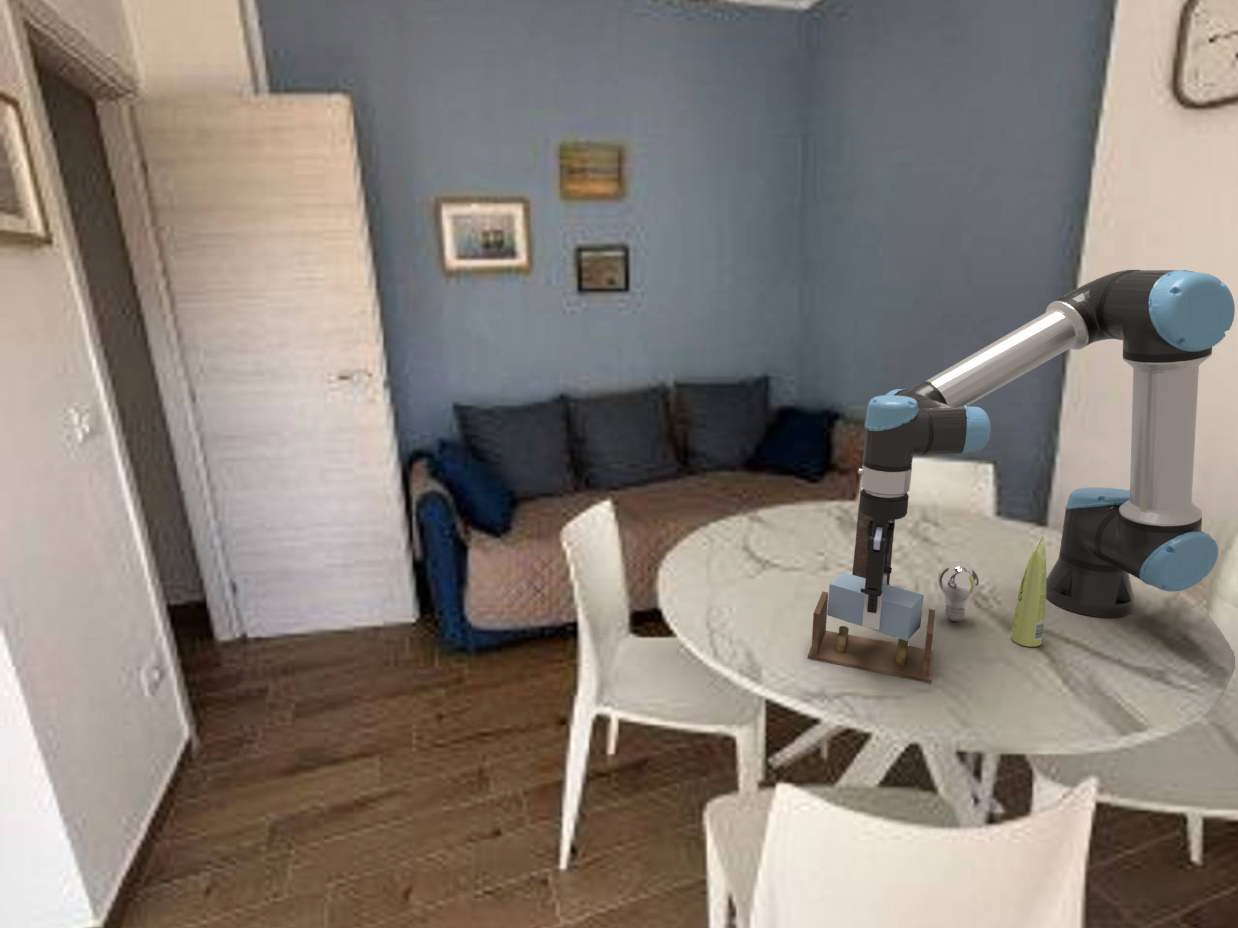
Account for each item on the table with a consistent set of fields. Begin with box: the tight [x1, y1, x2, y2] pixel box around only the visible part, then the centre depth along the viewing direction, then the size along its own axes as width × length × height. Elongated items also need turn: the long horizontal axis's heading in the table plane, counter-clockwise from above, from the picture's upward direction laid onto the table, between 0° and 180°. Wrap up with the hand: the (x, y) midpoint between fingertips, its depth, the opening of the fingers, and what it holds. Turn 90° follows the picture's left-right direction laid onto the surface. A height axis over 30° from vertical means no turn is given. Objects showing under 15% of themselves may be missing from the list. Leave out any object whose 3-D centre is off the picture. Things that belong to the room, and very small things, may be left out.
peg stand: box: [807, 591, 936, 684], centre depth 127 cm, size 20×10×9 cm, turn 65°
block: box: [827, 572, 925, 642], centre depth 126 cm, size 6×14×6 cm, turn 50°
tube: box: [1010, 533, 1047, 648], centre depth 130 cm, size 6×5×20 cm
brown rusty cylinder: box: [851, 507, 896, 585], centre depth 148 cm, size 8×7×20 cm
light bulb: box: [937, 560, 980, 623], centre depth 138 cm, size 7×7×12 cm
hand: (873, 616), depth 126 cm, fingers closed on block, 7 cm apart
